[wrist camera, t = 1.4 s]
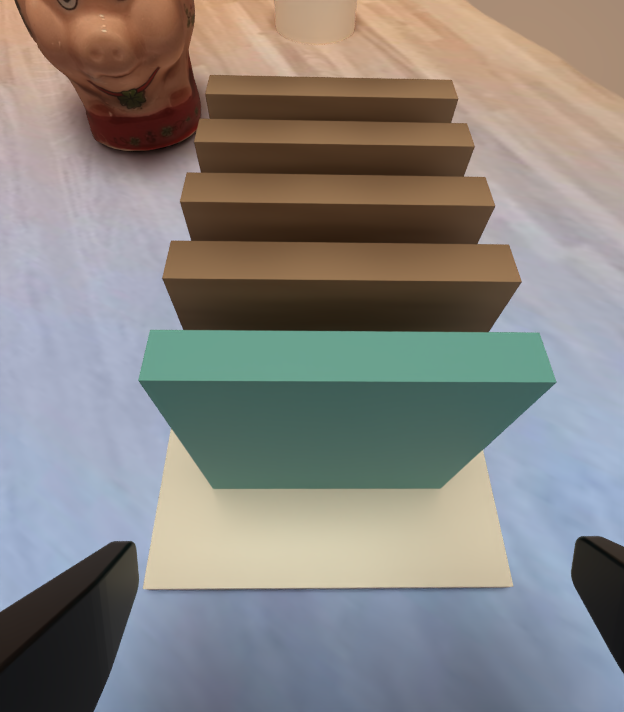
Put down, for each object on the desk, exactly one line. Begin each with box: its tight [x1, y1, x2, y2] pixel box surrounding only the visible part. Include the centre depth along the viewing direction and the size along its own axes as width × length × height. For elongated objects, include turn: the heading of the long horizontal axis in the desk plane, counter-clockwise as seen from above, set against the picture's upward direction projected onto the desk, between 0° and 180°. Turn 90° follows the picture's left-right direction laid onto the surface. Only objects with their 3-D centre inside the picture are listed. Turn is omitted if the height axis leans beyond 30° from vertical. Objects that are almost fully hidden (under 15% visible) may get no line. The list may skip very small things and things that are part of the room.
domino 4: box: [138, 330, 556, 489], centre depth 16 cm, size 2×11×11 cm, turn 90°
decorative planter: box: [15, 0, 201, 151], centre depth 33 cm, size 20×12×14 cm, turn 21°
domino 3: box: [162, 241, 522, 332], centre depth 18 cm, size 2×11×11 cm, turn 90°
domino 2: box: [194, 119, 475, 177], centre depth 22 cm, size 2×11×11 cm, turn 90°
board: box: [143, 429, 513, 590], centre depth 25 cm, size 24×16×1 cm, turn 0°
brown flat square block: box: [180, 173, 495, 244], centre depth 20 cm, size 2×11×11 cm, turn 90°
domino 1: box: [205, 75, 458, 123], centre depth 24 cm, size 2×11×11 cm, turn 90°
